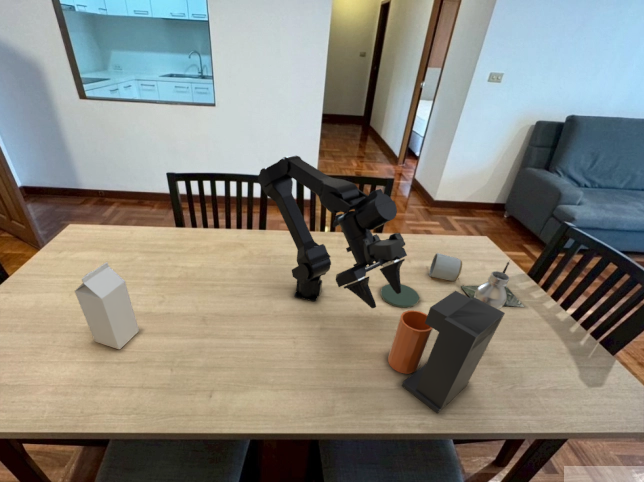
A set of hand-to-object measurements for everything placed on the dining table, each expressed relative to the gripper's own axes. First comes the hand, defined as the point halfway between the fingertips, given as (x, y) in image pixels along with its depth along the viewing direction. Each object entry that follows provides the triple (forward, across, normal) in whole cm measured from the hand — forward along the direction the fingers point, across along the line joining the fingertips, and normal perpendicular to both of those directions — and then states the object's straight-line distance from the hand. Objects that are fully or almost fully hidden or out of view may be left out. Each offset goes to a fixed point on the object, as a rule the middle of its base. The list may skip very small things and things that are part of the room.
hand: (387, 300), depth 80 cm
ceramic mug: (+4, +42, +14) cm, 45 cm away
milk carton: (-18, -48, +39) cm, 65 cm away
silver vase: (+16, +44, +2) cm, 47 cm away
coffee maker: (+21, 0, -3) cm, 21 cm away
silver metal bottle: (+20, +20, -1) cm, 28 cm away
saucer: (+4, +22, +15) cm, 26 cm away
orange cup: (+15, 0, +3) cm, 16 cm away
